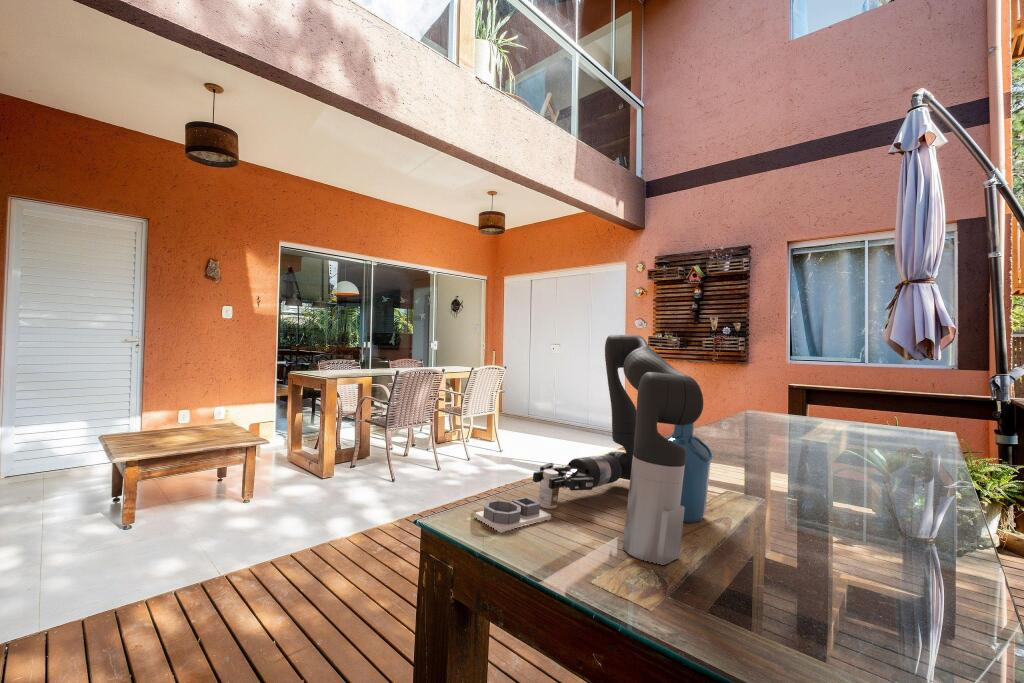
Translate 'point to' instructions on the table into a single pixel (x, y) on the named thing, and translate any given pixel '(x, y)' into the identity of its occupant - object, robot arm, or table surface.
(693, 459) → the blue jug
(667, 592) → the table surface
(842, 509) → the table surface
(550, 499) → the pill bottle
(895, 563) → the table surface
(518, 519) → the socket board
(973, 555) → the table surface
